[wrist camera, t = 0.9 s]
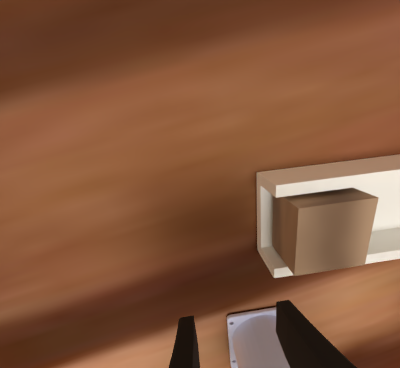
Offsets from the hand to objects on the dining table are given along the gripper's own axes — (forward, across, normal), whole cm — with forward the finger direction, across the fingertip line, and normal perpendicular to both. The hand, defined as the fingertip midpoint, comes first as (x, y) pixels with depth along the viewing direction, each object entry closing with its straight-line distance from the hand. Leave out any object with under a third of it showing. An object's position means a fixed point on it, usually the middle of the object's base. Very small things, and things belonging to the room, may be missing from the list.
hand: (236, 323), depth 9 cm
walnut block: (+9, -9, 0) cm, 13 cm away
